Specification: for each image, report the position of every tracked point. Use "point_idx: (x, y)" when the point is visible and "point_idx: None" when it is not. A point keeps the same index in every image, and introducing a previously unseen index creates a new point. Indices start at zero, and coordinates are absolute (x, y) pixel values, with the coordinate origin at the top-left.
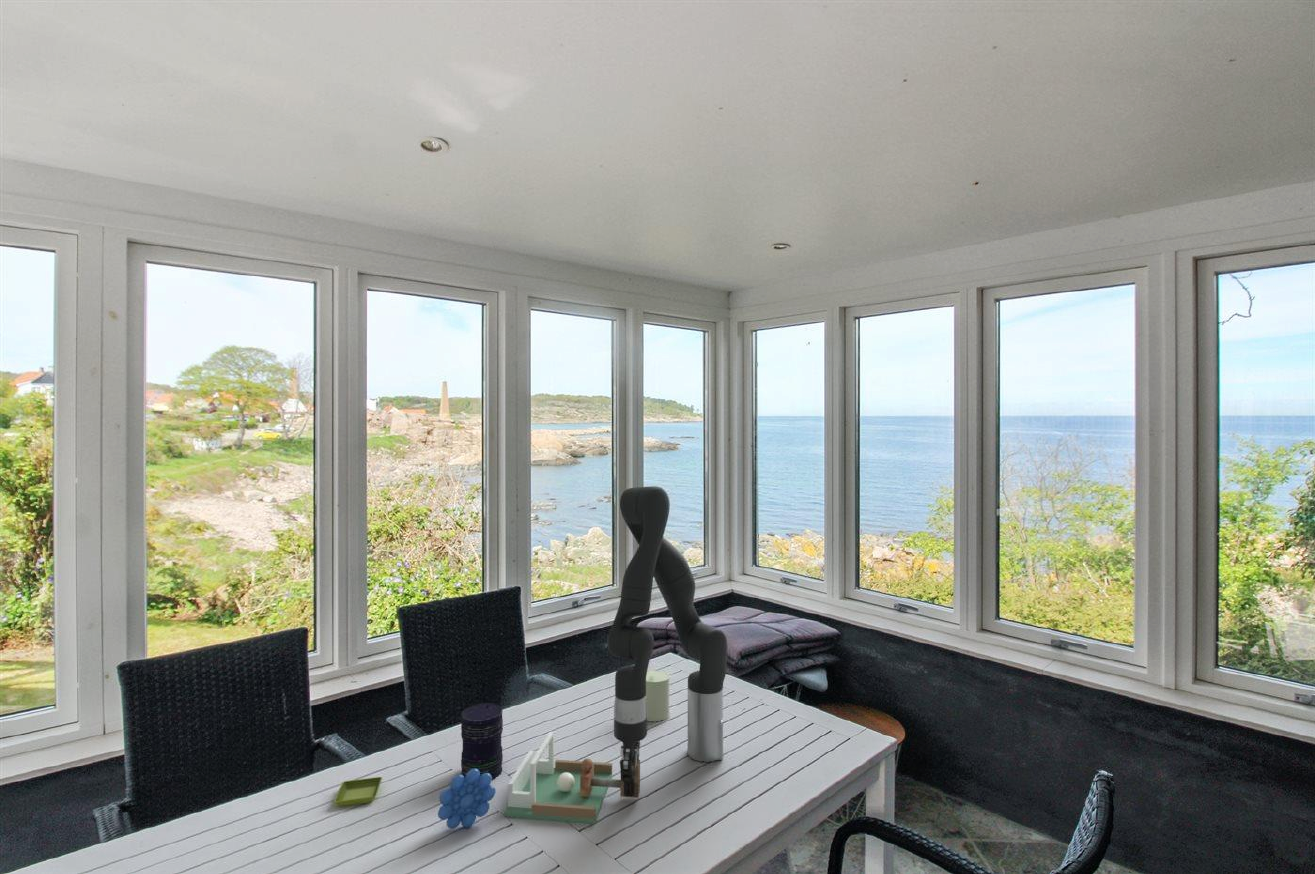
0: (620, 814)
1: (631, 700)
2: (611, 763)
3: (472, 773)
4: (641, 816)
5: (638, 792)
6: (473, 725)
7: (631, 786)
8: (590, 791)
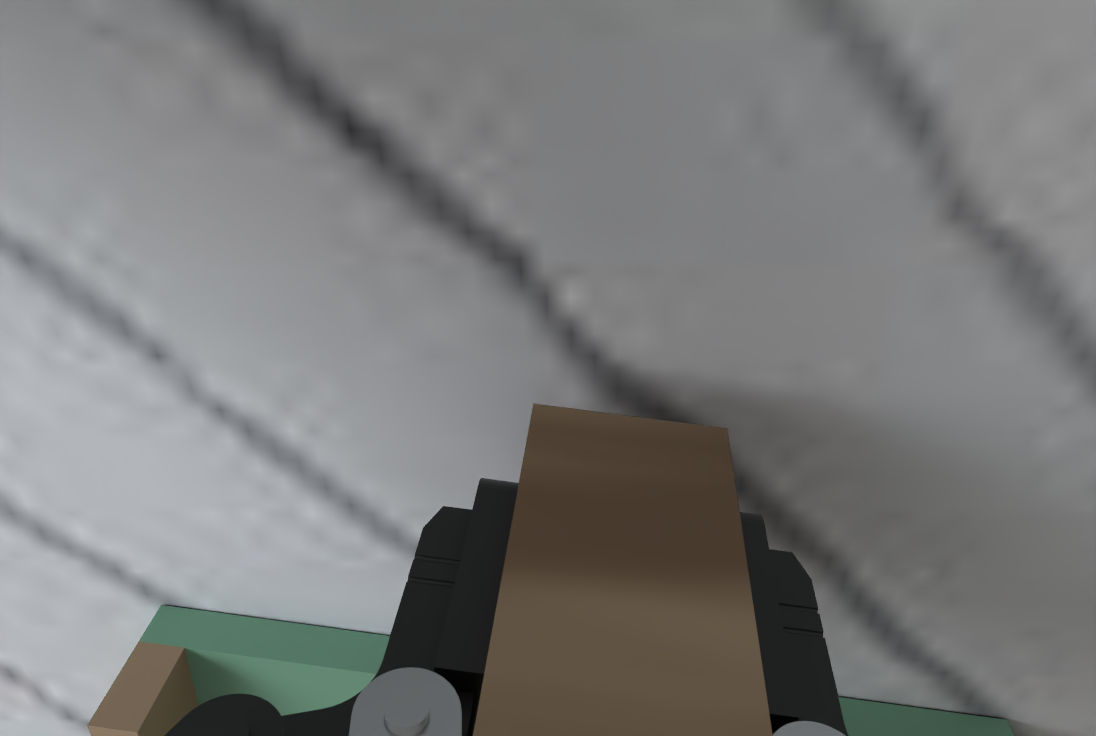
0: (901, 541)
1: None
2: (93, 728)
3: None
4: (1007, 333)
5: (686, 454)
6: None
7: (820, 660)
8: None
